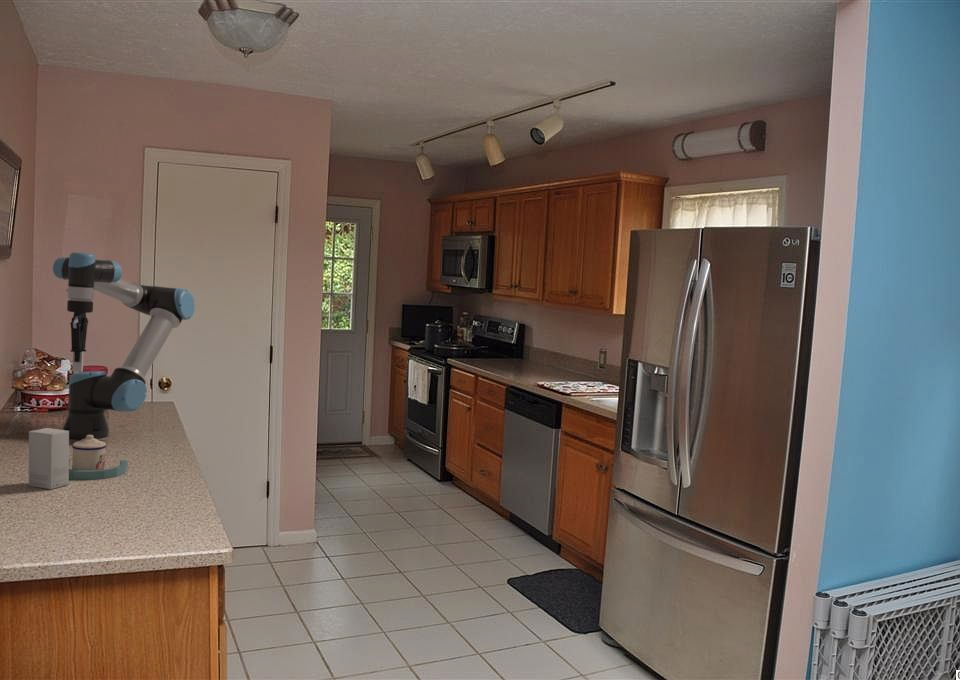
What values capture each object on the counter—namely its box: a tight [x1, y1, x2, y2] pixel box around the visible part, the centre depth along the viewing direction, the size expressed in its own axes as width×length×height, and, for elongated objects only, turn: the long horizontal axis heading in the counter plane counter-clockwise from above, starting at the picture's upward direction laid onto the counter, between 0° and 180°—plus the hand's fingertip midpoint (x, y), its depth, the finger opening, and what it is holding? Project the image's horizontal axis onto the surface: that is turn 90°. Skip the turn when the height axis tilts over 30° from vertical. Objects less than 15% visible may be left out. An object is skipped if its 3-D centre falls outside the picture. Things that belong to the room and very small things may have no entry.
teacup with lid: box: [71, 435, 107, 470], centre depth 236 cm, size 12×9×12 cm
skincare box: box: [28, 427, 70, 490], centre depth 219 cm, size 8×7×16 cm
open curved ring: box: [69, 458, 129, 481], centre depth 236 cm, size 16×20×2 cm
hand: (77, 371), depth 261 cm, fingers closed
